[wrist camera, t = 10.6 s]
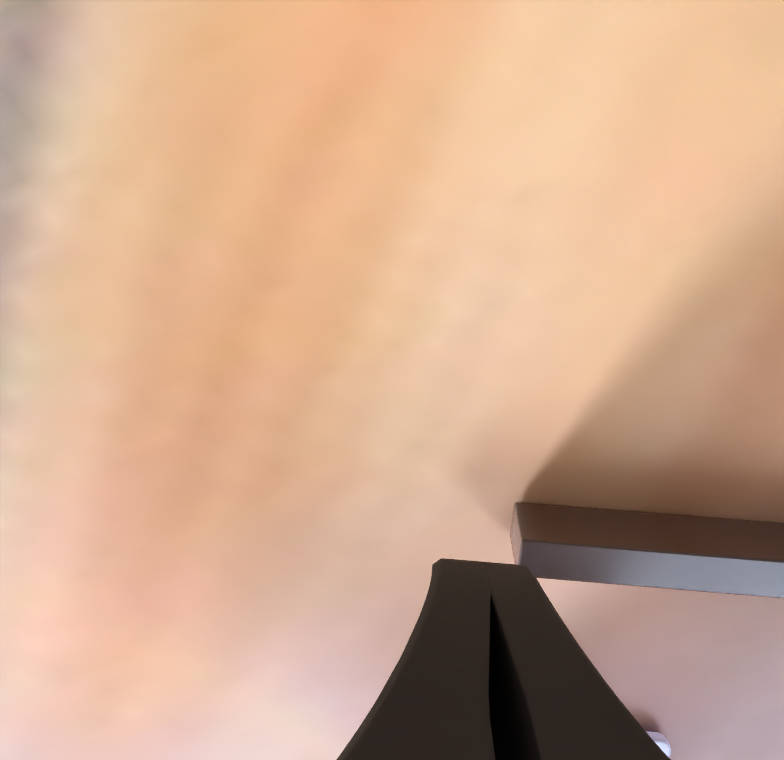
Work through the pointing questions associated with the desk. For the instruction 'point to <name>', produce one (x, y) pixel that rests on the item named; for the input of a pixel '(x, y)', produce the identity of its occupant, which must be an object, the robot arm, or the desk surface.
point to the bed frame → (649, 549)
